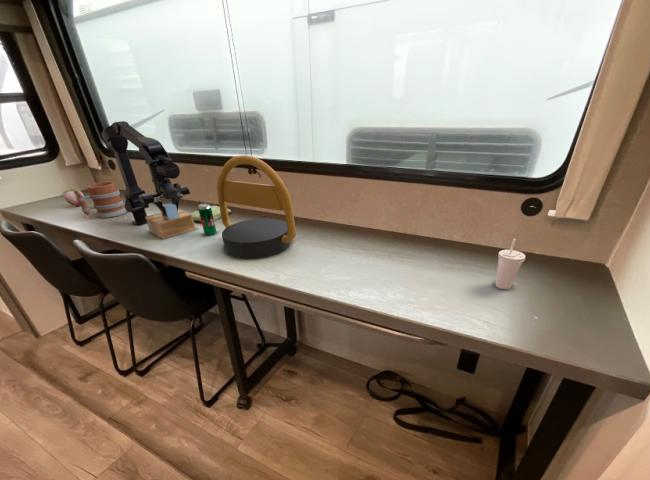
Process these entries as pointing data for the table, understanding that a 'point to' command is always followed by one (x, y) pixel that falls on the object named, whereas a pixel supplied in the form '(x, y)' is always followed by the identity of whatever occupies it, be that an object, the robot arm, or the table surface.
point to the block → (170, 211)
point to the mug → (103, 200)
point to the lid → (160, 218)
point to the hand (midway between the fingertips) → (171, 215)
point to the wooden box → (172, 227)
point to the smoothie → (508, 266)
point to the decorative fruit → (72, 197)
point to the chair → (257, 233)
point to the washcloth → (215, 213)
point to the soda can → (207, 219)
